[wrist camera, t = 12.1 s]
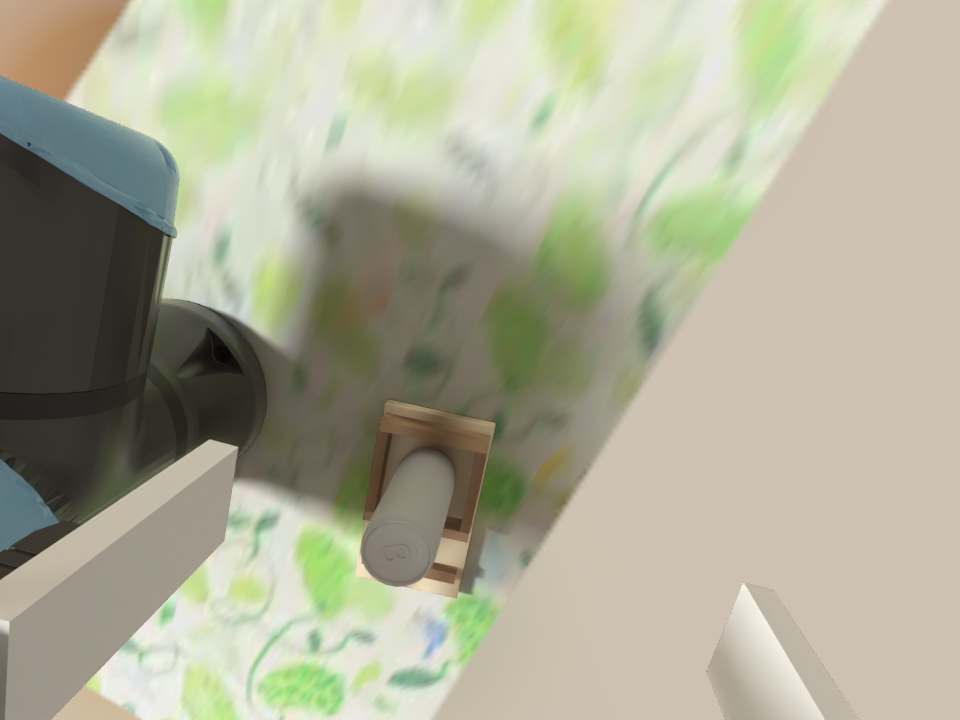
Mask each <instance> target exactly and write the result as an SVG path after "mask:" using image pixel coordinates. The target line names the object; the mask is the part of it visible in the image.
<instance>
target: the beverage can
mask: <svg viewBox="0 0 960 720" xmlns="http://www.w3.org/2000/svg"><path fill="white" fill-rule="evenodd" d="M455 481H456V472H455V468H454V466H453V463H452V462H451V461H450V459H449V458H448V457H447V456H446V455H445V454H443V453H442V452H440V451H438V450H436V449H432V448H419V449H416V450H414V451H412V452H410V453H409V454H408V455H406V456H405V457H404V458H403V459H402V461H401V462H400V464H399V466H398V468H397V470H396V472H395V474H394V476H393V478H392V480H391V482H390V484H389V486H388V487H387V489H386V491H385V493H384V495H383V497H382V499H381V501H380V503H379V504H378V506H377V508H376V510H375V512H374V514H373V516H372V518H371V520H370V521H369V523H368V525H367V527H366V530H365V532H364V534H363V536H362V543H361V550H360V553H361V560H362V562H363V564H364V567H365V569H366V570H367V571H368V572H369V573H370V575H371V576H373V577H374V578H375V579H377V580H378V581H380V582H382V583H384V584H386V585H391V586H396V587H399V586H408V585H412V584H415V583H416V582H418V581H420V580H421V579H422V578H423V577H424V576H425V575H426V574H427V573H428V571H429V569H430V568H431V567H432V565H433V563H434V561H435V559H436V555H437V551H438V547H439V544H440V540H441V536H442V532H443V528H444V524H445V521H446V517H447V513H448V509H449V505H450V502H451V498H452V494H453V490H454V486H455Z"/></svg>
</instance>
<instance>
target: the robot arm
mask: <svg viewBox="0 0 960 720" xmlns="http://www.w3.org/2000/svg"><path fill="white" fill-rule="evenodd" d="M178 186H179V171H178V167H177V164H176V161H175V159H174V158H173V156H172V155H171V153H170V152H169V151H168V150H167V149H166V148H165V147H164V146H163V145H162V144H161V143H160V142H158V141H157V140H155V139H153V138H151V137H149V136H147V135H144V134H142V133H140V132H137V131H135V130H132V129H130V128H128V127H125V126H123V125H120V124H118V123H115V122H113V121H111V120H108V119H106V118H103V117H101V116H98V115H96V114H94V113H91V112H89V111H86V110H84V109H81V108H79V107H77V106H74V105H72V104H69V103H67V102H64V101H62V100H59V99H57V98H54V97H52V96H50V95H47V94H45V93H42V92H40V91H37V90H35V89H32V88H30V87H27V86H25V85H23V84H20V83H17V82H15V81H12V80H10V79H8V78H5V77H3V76H0V720H51V719H52V718H53V717H54V716H55V715H56V714H57V713H58V712H59V711H60V710H61V709H62V708H63V707H64V706H65V705H66V704H67V702H69V701H70V699H71V698H72V697H73V696H74V695H75V694H76V693H77V692H78V691H79V690H80V689H81V688H82V687H83V686H84V685H85V684H86V683H87V682H88V681H89V680H90V679H91V678H92V677H93V676H94V675H95V674H96V673H97V672H98V671H99V670H100V669H101V667H102V666H103V665H104V664H105V663H106V662H107V661H108V660H109V659H110V658H111V657H112V656H113V655H114V654H115V653H116V652H117V651H118V650H119V649H120V648H121V647H122V646H123V645H124V644H125V643H126V642H127V641H128V640H129V639H130V638H131V636H132V635H133V634H134V633H135V632H136V631H137V630H138V629H139V628H140V627H141V626H142V625H143V624H144V623H145V622H146V621H147V620H148V619H149V618H150V617H151V616H152V615H153V614H154V613H155V612H156V611H157V610H158V609H159V608H160V607H161V605H162V604H163V603H164V602H165V601H166V600H167V599H168V598H169V597H170V596H171V595H172V594H173V593H174V592H175V591H176V590H177V589H178V588H179V587H180V586H181V585H182V584H183V583H184V582H185V581H186V580H187V579H188V578H189V577H190V576H191V574H192V573H193V572H194V571H195V570H196V569H197V568H198V567H199V566H200V565H201V564H202V563H203V562H204V561H205V560H206V559H207V558H208V557H209V556H210V555H211V554H212V553H213V552H214V551H215V550H216V549H217V548H218V547H219V546H220V545H221V543H222V542H223V541H224V539H225V532H226V526H227V519H228V513H229V506H230V499H231V493H232V486H233V480H234V473H235V466H236V460H237V458H238V457H239V456H241V455H242V454H243V453H244V452H245V451H246V450H247V449H248V448H249V447H250V445H251V444H252V443H253V441H254V440H255V438H256V437H257V435H258V433H259V431H260V428H261V426H262V423H263V419H264V415H265V410H266V387H265V381H264V377H263V373H262V370H261V367H260V364H259V362H258V360H257V358H256V356H255V354H254V352H253V350H252V349H251V347H250V345H249V344H248V343H247V341H246V340H245V339H244V337H243V336H242V335H241V334H240V333H239V332H238V331H237V330H236V329H235V328H234V327H233V326H232V325H231V324H230V323H229V322H228V321H226V320H225V319H224V318H222V317H221V316H219V315H218V314H216V313H215V312H213V311H211V310H209V309H207V308H205V307H203V306H200V305H198V304H195V303H192V302H188V301H183V300H177V299H162V294H163V288H164V283H165V277H166V272H167V266H168V261H169V256H170V250H171V245H172V239H173V238H176V236H177V231H176V228H175V226H174V219H175V211H176V202H177V194H178ZM706 672H707V675H708V677H709V680H710V682H711V685H712V687H713V690H714V693H715V695H716V698H717V700H718V703H719V705H720V708H721V711H722V713H723V716H724V718H725V720H859V719H858V717H857V716H856V714H855V713H854V711H853V709H852V708H851V706H850V705H849V703H848V702H847V701H846V699H845V697H844V696H843V694H842V693H841V691H840V690H839V689H838V687H837V686H836V684H835V682H834V681H833V679H832V678H831V676H830V675H829V673H828V672H827V670H826V669H825V667H824V666H823V664H822V663H821V661H820V660H819V658H818V657H817V655H816V654H815V652H814V651H813V649H812V648H811V646H810V644H809V643H808V641H807V640H806V638H805V637H804V635H803V634H802V633H801V631H800V629H799V628H798V626H797V625H796V623H795V622H794V620H793V619H792V617H791V616H790V614H789V613H788V611H787V610H786V608H785V607H784V605H783V604H782V602H781V601H780V599H779V598H778V596H777V595H776V593H775V592H774V590H770V589H767V588H763V587H759V586H756V585H752V584H748V583H743V585H742V587H741V589H740V592H739V594H738V596H737V599H736V602H735V604H734V606H733V609H732V611H731V613H730V616H729V618H728V621H727V623H726V626H725V628H724V630H723V633H722V635H721V638H720V640H719V642H718V645H717V647H716V650H715V652H714V655H713V657H712V659H711V662H710V664H709V667H708V669H707V671H706Z"/></svg>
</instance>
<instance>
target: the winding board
mask: <svg viewBox="0 0 960 720" xmlns="http://www.w3.org/2000/svg"><path fill="white" fill-rule="evenodd" d="M495 424H496V423H494V422H489V421H485V420H480V419H476V418H471V417H467V416H462V415H457V414H453V413H448V412H444V411H439V410H435V409H430V408H426V407H421V406H416V405H412V404H407V403H403V402H398V401H394V400H389V399H388V400H387V402H386V403H385V406H384V412H383V417H382V419H381V420H380V423H379V429H378V435H377V441H376V446H375V452H374V458H373V464H372V470H371V476H370V482H369V487H368V493H367V499H366V505H365V511H364V517H363V520H365V523H364V528H363V534H364V532H365V530H366V527H367V525H368V523H369V521H370V520H371V518H372V516H373V514H374V512H375V510H376V508H377V506H378V504H379V503H380V501H381V499H382V497H383V495H384V493H385V491H386V489H387V487H388V486H389V484H390V482H391V480H392V478H393V476H394V474H395V472H396V470H397V468H398V466H399V464H400V462H401V461H402V459H403V458H404V457H405V456H406V455H408V454H409V453H410V452H412V451H414V450H416V449H419V448H432V449H436V450H438V451H440V452H442V453H443V454H445V455H446V456H447V457H448V458H449V459H450V461H451V462H452V463H453V466H454V468H455V472H456V481H455V486H454V490H453V494H452V498H451V502H450V505H449V509H448V513H447V517H446V521H445V524H444V528H443V532H442V536H441V540H440V544H439V547H438V551H437V555H436V559H435V561H434V563H433V565H432V567H431V568H430V569H429V571H428V573H427V574H426V575H425V576H424V577H423V578H422V579H421V580H420V581H418V582H416V583H415V584H412V585H408V586H403V587H408V588H412V589H417V590H421V591H425V592H430V593H434V594H439V595H443V596H447V597H452V598H456V599H457V595H458V591H459V586H460V582H461V577H462V573H463V568H464V564H465V559H466V555H467V551H468V546H469V542H470V537H471V533H472V528H473V524H474V519H475V515H476V510H477V506H478V501H479V497H480V492H481V488H482V484H483V479H484V475H485V470H486V466H487V461H488V457H489V452H490V448H491V443H492V439H493V434H494V430H495ZM363 534H362V536H363ZM361 543H362V540H361ZM360 550H361V546H360ZM355 576H359V577H364V578H368V579H373V580H377V579H375V578H374V577H373V576H371V575H370V573H369V572H368V571H367V570H366V569H365V567H364V564H363V562H362V560H361V553H360V552H359V558H358V563H357V569H356V575H355ZM377 581H378V580H377Z"/></svg>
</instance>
